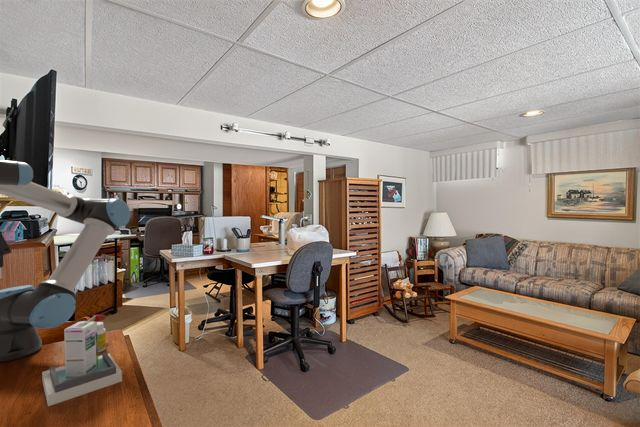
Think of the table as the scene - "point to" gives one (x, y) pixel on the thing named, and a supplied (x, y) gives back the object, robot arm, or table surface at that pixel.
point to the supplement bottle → (101, 336)
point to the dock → (79, 380)
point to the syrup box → (81, 348)
